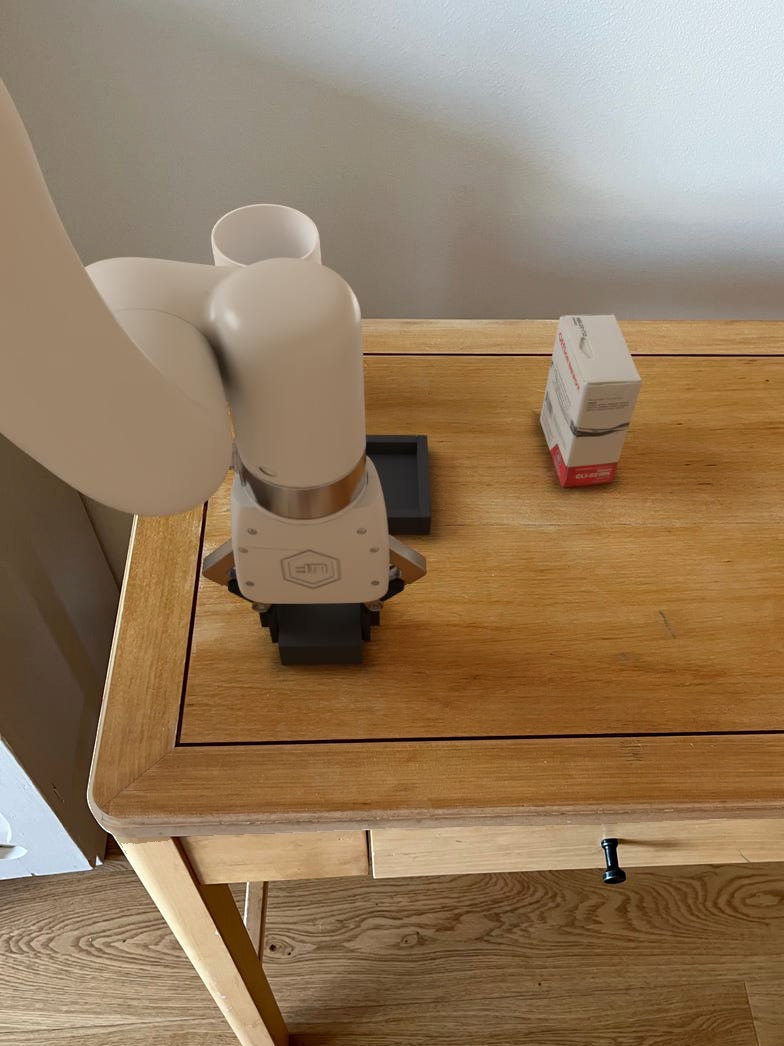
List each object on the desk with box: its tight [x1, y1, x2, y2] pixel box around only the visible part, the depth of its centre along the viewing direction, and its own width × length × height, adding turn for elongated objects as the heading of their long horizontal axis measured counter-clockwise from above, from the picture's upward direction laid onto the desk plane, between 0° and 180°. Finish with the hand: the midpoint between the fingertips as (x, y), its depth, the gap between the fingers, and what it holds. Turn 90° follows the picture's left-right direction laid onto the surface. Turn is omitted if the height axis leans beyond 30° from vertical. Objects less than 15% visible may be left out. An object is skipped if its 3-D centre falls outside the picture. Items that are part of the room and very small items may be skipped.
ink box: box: [539, 313, 643, 488], centre depth 81 cm, size 8×5×12 cm, turn 12°
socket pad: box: [366, 434, 432, 536], centre depth 81 cm, size 9×9×2 cm
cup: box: [210, 203, 322, 267], centre depth 81 cm, size 8×8×16 cm
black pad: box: [277, 603, 363, 666], centre depth 73 cm, size 6×6×3 cm
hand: (322, 625), depth 73 cm, fingers closed on black pad, 6 cm apart
